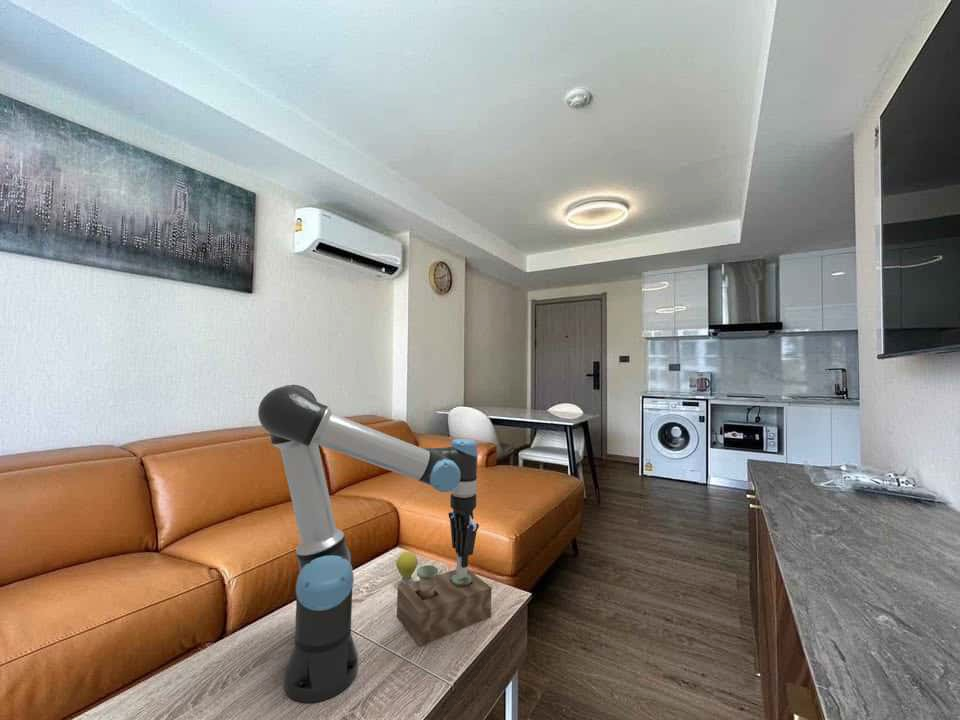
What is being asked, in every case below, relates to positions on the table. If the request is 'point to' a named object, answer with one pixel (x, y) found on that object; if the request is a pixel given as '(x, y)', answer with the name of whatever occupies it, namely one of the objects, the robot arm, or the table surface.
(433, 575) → the near plunger
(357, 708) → the table surface
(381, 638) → the table surface
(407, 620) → the socket block
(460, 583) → the far plunger
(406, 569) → the yellow light bulb
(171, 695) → the table surface
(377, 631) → the table surface
